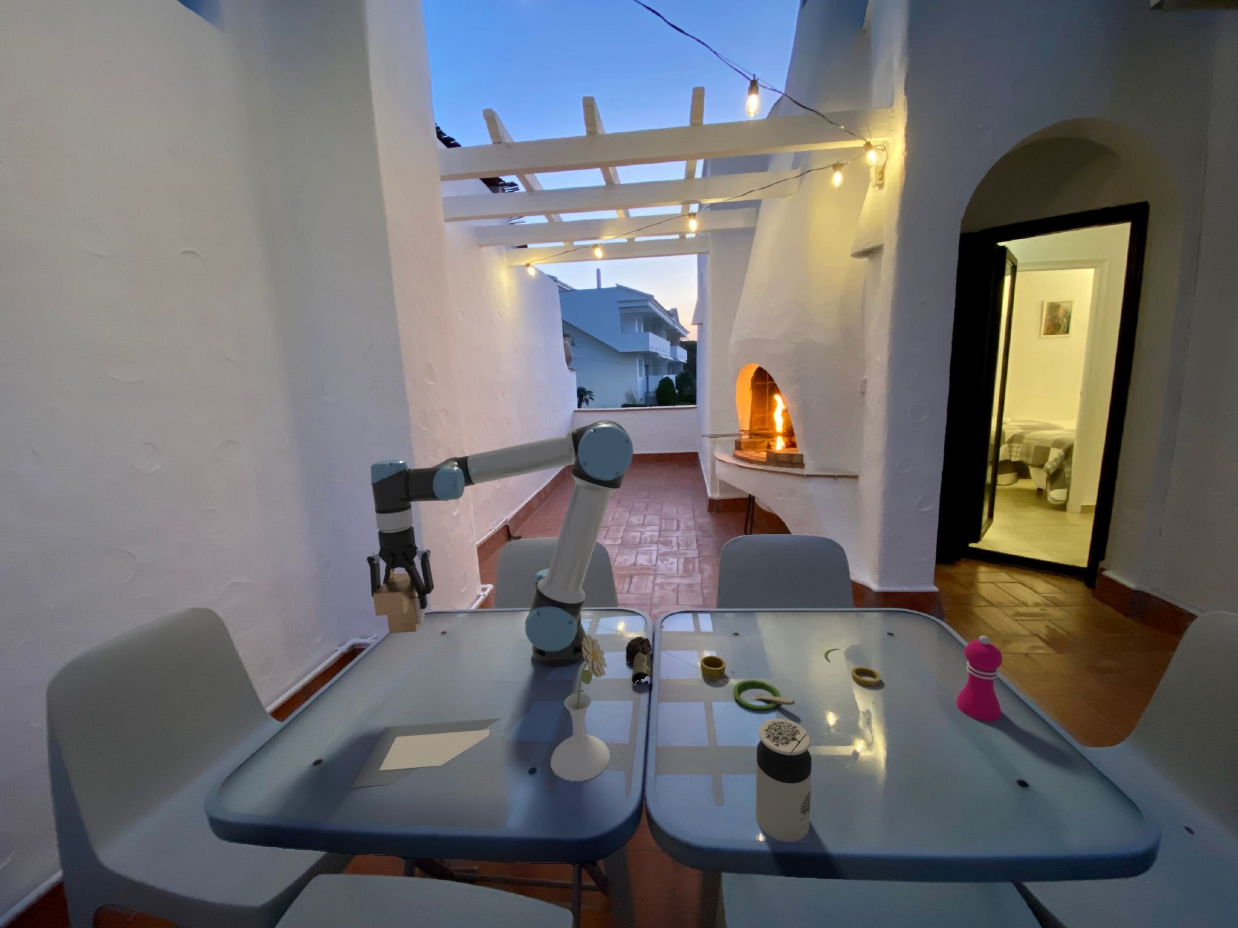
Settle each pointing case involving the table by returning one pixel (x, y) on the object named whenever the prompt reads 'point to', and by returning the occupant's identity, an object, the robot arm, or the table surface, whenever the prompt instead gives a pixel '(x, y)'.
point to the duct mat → (418, 749)
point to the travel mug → (783, 780)
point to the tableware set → (716, 668)
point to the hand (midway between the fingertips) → (406, 622)
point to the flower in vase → (582, 726)
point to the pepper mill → (981, 681)
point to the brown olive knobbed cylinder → (639, 658)
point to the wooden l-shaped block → (398, 603)
